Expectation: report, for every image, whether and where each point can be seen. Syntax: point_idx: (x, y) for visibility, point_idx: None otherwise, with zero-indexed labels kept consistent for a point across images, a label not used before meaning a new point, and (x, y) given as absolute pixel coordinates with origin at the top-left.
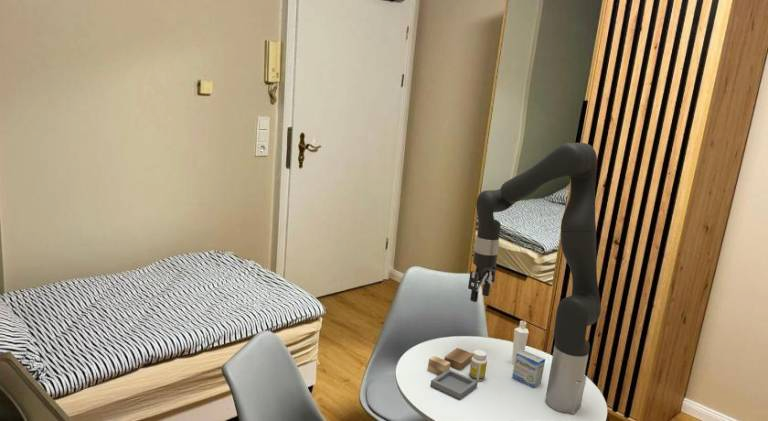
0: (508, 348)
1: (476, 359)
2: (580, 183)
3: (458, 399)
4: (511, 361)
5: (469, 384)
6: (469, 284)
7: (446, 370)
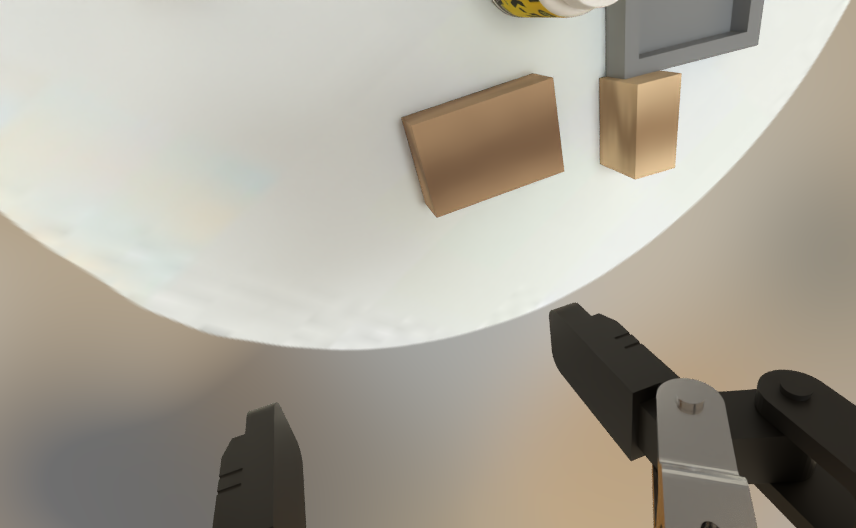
0: (46, 124)
1: None
2: None
3: None
4: None
5: None
6: (848, 494)
7: (645, 74)
